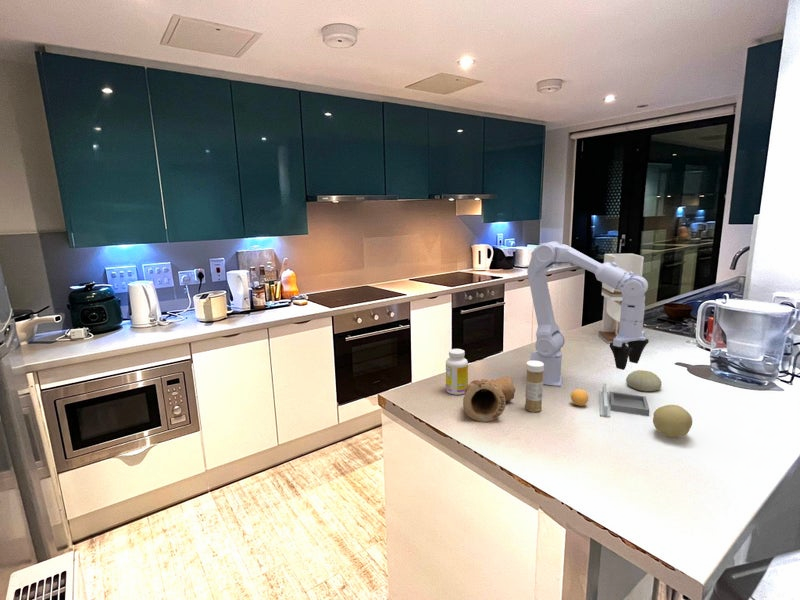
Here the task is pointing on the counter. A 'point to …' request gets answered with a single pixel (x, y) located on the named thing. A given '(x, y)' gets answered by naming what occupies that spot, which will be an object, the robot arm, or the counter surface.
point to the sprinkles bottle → (534, 386)
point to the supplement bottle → (456, 372)
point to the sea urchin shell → (644, 380)
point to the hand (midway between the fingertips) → (627, 365)
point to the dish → (629, 403)
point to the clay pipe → (487, 398)
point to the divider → (604, 402)
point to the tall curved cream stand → (616, 294)
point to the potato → (672, 421)
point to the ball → (579, 397)
